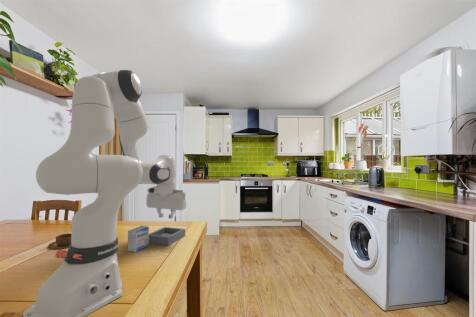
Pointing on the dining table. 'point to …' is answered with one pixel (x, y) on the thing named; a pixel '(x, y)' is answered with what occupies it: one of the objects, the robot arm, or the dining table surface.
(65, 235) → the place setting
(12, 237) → the dining table surface
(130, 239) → the medicine box
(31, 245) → the dining table surface
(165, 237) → the tray
